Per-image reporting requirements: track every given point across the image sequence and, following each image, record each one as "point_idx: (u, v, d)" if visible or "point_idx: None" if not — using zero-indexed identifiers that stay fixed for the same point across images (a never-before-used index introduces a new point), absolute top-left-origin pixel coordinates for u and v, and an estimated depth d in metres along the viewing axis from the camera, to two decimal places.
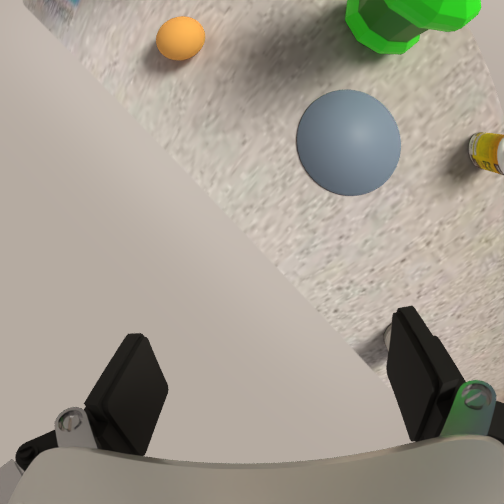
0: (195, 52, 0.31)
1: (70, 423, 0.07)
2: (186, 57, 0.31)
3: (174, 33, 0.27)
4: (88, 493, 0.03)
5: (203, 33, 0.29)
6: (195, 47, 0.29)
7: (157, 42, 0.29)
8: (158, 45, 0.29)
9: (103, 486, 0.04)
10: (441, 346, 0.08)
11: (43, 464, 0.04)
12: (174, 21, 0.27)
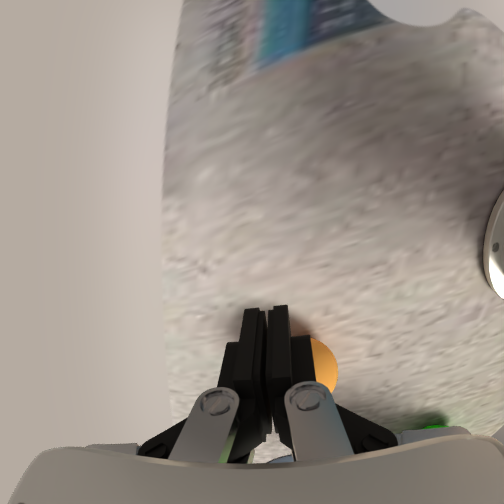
0: None
1: (214, 406, 0.07)
2: None
3: None
4: (88, 493, 0.03)
5: None
6: None
7: None
8: None
9: (103, 486, 0.04)
10: (308, 345, 0.10)
11: (43, 464, 0.04)
12: None
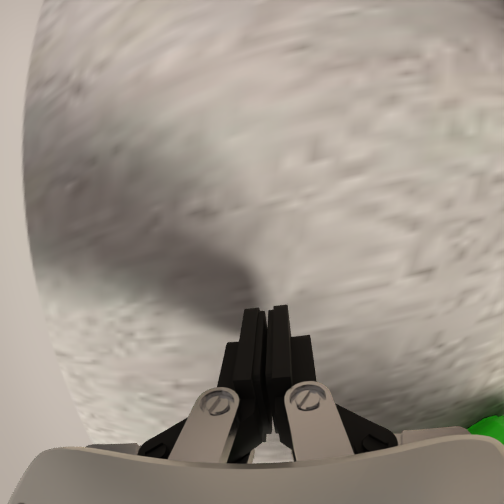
0: None
1: (214, 406, 0.07)
2: None
3: None
4: (88, 493, 0.03)
5: None
6: None
7: None
8: None
9: (103, 486, 0.04)
10: (309, 345, 0.10)
11: (43, 464, 0.04)
12: None
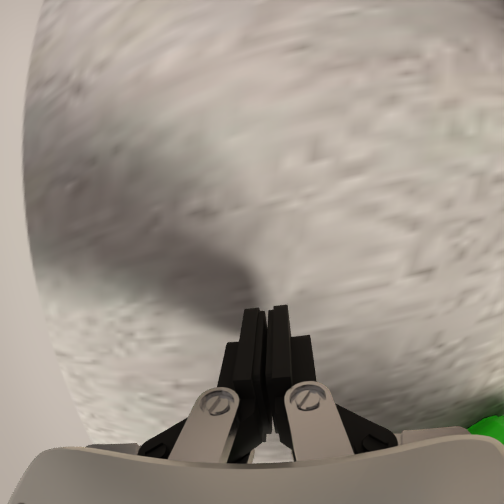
0: None
1: (214, 406, 0.07)
2: None
3: None
4: (88, 493, 0.03)
5: None
6: None
7: None
8: None
9: (103, 486, 0.04)
10: (309, 345, 0.10)
11: (43, 464, 0.04)
12: None
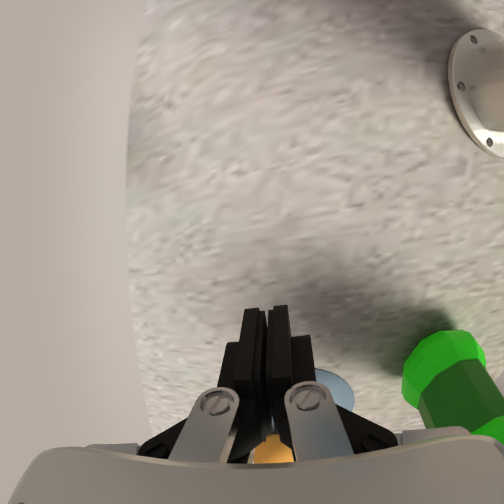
0: (271, 461, 0.30)
1: (214, 406, 0.07)
2: (262, 459, 0.31)
3: (275, 435, 0.33)
4: (88, 493, 0.03)
5: (292, 457, 0.30)
6: (275, 454, 0.30)
7: None
8: None
9: (103, 486, 0.04)
10: (309, 345, 0.10)
11: (43, 464, 0.04)
12: None
